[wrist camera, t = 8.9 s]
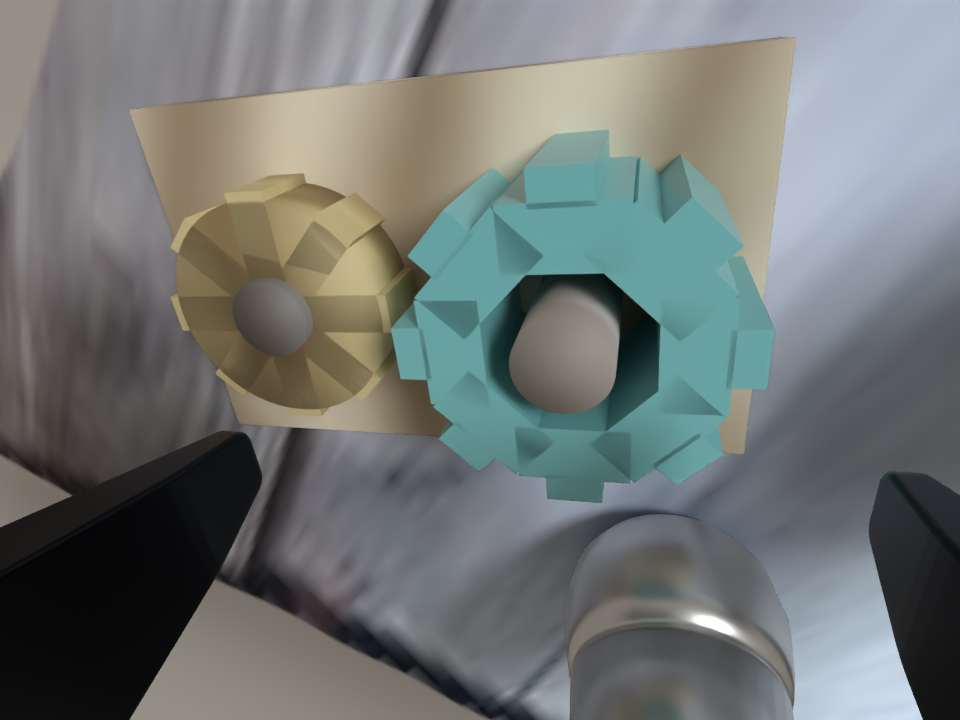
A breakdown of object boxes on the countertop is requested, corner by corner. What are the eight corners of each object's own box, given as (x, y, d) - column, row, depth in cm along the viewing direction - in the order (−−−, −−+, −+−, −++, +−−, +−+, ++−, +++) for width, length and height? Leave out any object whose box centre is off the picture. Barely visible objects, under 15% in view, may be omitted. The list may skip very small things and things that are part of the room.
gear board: (781, 37, 13) (870, 40, 8) (736, 423, 17) (774, 585, 12) (168, 104, 17) (-38, 135, 12) (263, 401, 22) (144, 515, 16)
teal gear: (757, 117, 12) (798, 149, 9) (727, 409, 16) (750, 514, 12) (430, 144, 14) (361, 179, 11) (465, 399, 17) (422, 488, 14)
